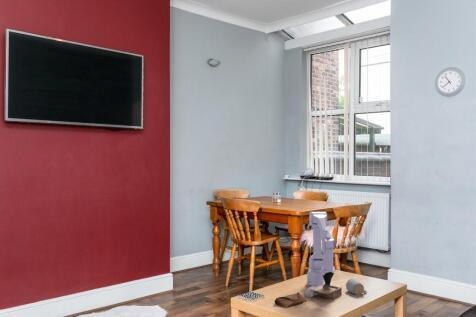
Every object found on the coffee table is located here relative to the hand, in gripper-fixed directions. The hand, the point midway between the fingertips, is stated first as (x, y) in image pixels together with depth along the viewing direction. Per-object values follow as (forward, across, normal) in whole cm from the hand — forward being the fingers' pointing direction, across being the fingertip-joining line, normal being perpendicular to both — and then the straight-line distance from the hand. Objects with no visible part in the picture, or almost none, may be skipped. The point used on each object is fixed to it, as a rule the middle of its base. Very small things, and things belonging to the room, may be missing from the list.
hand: (327, 285), depth 237 cm
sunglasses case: (+7, -21, +10) cm, 24 cm away
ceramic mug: (+6, +17, -10) cm, 21 cm away
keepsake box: (+6, +2, 0) cm, 7 cm away
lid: (+2, -5, 0) cm, 5 cm away
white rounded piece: (+6, -6, +9) cm, 12 cm away
